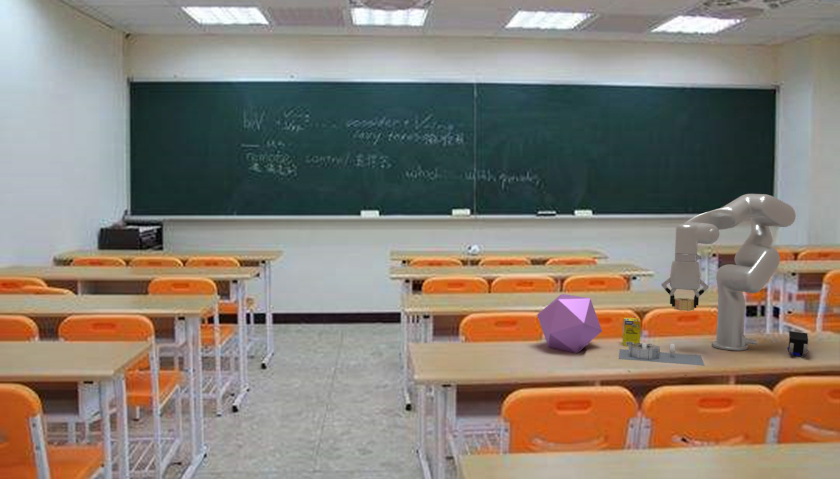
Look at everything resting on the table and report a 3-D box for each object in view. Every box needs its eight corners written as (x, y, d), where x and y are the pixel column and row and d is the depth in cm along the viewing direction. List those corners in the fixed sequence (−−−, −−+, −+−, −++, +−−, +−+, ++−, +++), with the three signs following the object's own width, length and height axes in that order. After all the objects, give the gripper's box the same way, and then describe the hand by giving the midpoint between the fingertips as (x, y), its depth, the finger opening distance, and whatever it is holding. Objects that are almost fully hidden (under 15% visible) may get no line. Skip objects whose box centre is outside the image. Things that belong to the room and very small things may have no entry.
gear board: (700, 358, 259) (701, 342, 259) (704, 369, 245) (705, 352, 245) (619, 352, 267) (620, 337, 267) (618, 362, 253) (619, 346, 252)
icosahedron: (615, 339, 259) (597, 279, 272) (561, 341, 254) (545, 280, 267) (591, 363, 277) (575, 306, 290) (540, 366, 272) (526, 307, 285)
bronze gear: (693, 308, 266) (693, 298, 266) (694, 311, 260) (695, 301, 260) (673, 306, 268) (673, 297, 268) (674, 310, 262) (674, 300, 262)
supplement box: (640, 350, 271) (641, 321, 270) (623, 349, 272) (624, 320, 271) (638, 346, 277) (639, 318, 276) (622, 345, 278) (623, 317, 277)
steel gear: (658, 353, 261) (659, 344, 260) (659, 360, 251) (660, 350, 250) (628, 351, 264) (629, 342, 263) (628, 358, 254) (628, 348, 253)
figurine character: (808, 364, 259) (806, 350, 272) (810, 343, 257) (808, 330, 271) (787, 361, 262) (786, 348, 275) (788, 341, 260) (787, 329, 274)
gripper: (710, 258, 264) (708, 306, 265) (660, 256, 269) (658, 303, 270) (712, 260, 256) (710, 310, 258) (660, 258, 261) (659, 307, 263)
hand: (683, 306), depth 264 cm, fingers closed on bronze gear, 7 cm apart
